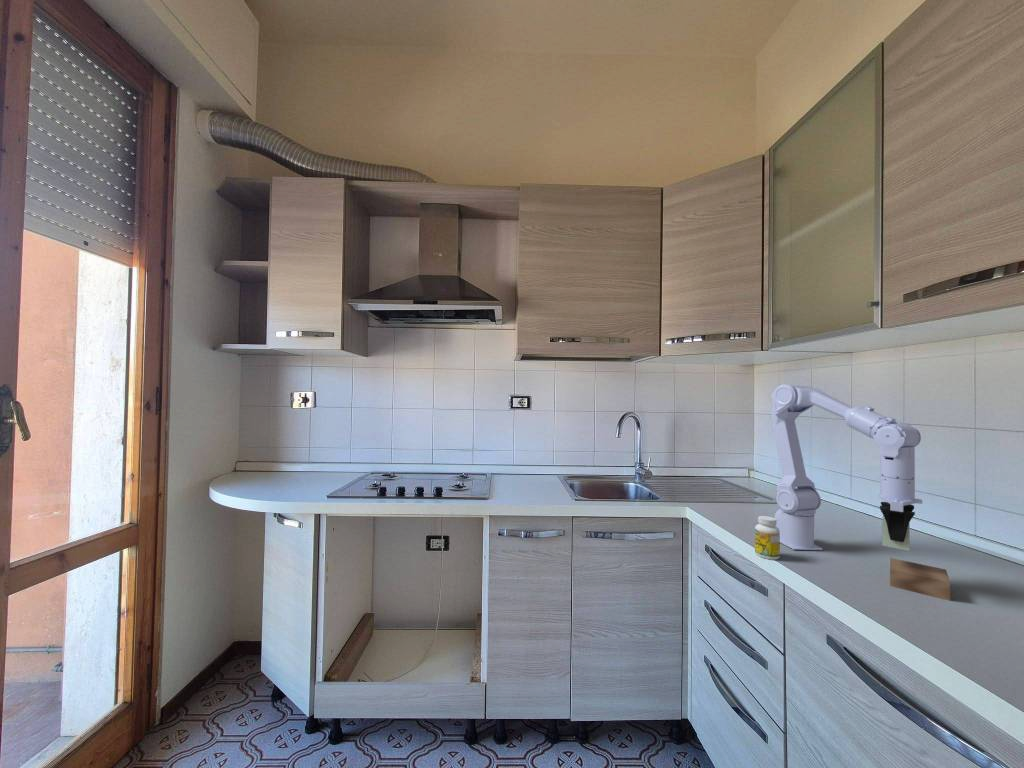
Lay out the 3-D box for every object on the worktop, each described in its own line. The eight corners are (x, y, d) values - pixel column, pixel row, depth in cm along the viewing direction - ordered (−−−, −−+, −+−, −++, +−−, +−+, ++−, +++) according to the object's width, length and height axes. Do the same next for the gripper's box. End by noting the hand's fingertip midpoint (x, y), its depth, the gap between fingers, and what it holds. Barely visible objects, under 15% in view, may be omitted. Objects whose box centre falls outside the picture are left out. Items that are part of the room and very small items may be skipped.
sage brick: (882, 545, 93) (882, 518, 93) (882, 540, 96) (882, 514, 96) (909, 550, 90) (909, 522, 90) (909, 545, 93) (909, 518, 93)
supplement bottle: (784, 559, 103) (785, 520, 103) (766, 560, 102) (766, 521, 102) (767, 551, 108) (768, 514, 109) (749, 552, 107) (750, 515, 108)
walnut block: (890, 587, 90) (890, 568, 90) (890, 575, 96) (890, 557, 97) (950, 602, 84) (950, 582, 84) (946, 588, 90) (946, 569, 91)
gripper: (923, 484, 85) (923, 551, 85) (920, 475, 96) (921, 535, 95) (877, 479, 90) (877, 542, 89) (880, 471, 100) (880, 527, 100)
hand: (897, 538), depth 93 cm, fingers closed on sage brick, 4 cm apart
